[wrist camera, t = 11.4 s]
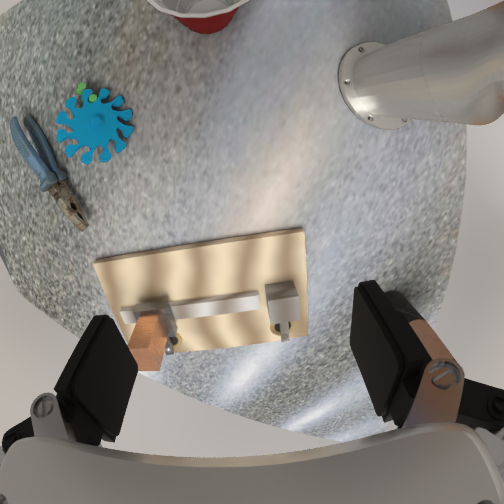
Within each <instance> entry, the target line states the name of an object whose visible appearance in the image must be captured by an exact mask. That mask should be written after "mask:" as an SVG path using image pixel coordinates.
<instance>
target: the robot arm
mask: <svg viewBox="0 0 504 504" xmlns="http://www.w3.org/2000/svg"><path fill="white" fill-rule="evenodd" d="M359 51H360V52H359ZM338 77H339V86H340V89H341V93H342V95H343V98H344V100H345V102H346V104H347V105H348V107H349V108H350V110H351V111H352V112H353V113H354V114H355V115H356V116H357V117H358V118H359V119H361V120H362V121H363V122H365V123H366V124H368V125H370V126H373V127H376V128H379V129H390V130H393V129H398V128H401V127H403V126H405V125H406V124H408V123H409V122H410V121H411V120H412V119H415V120H430V121H442V122H452V123H460V124H469V125H485V124H489V123H491V122H493V121H495V120H496V119H498V118H499V117H500V116H501V115H502V114H503V113H504V1H502V2H500V3H498V4H496V5H494V6H491V7H489V8H487V9H485V10H482V11H480V12H477V13H475V14H472V15H470V16H467V17H464V18H461V19H458V20H455V21H452V22H449V23H446V24H443V25H440V26H437V27H434V28H430V29H428V30H425V31H422V32H419V33H416V34H413V35H411V36H408V37H405V38H403V39H400V40H397V41H395V42H392V43H390V44H388V45H386V44H383V43H379V42H366V43H362V44H359V45H357V46H355V47H353V48H352V49H350V50H349V51H348V52H347V53H346V54H345V56H344V58H343V59H342V61H341V64H340V67H339V76H338ZM344 81H345V82H346V84H345V83H344ZM368 117H369V119H368ZM350 346H351V349H352V352H353V354H354V357H355V359H356V362H357V364H358V367H359V369H360V372H361V374H362V377H363V379H364V382H365V385H366V387H367V390H368V393H369V395H370V398H371V401H372V403H373V406H374V409H375V412H376V414H377V416H382V418H383V421H384V423H385V422H388V421H391V420H393V421H394V423H395V425H397V428H396V429H395V430H391V431H388V432H384V433H380V434H376V435H372V436H369V437H365V438H361V439H357V440H353V441H349V442H344V443H340V444H335V445H330V446H325V447H320V448H315V449H309V450H303V451H296V452H289V453H281V454H272V455H263V456H249V457H227V458H194V457H193V458H192V457H173V456H159V455H149V454H140V453H133V452H126V451H120V450H114V449H108V448H103V447H102V445H101V443H100V442H101V439H103V440H104V441H109V442H115V439H116V436H118V435H119V433H120V430H121V426H122V422H123V418H124V415H125V412H126V408H127V405H128V402H129V398H130V395H131V392H132V388H133V385H134V382H135V379H136V376H137V373H138V364H137V362H136V360H135V359H134V357H133V355H132V353H131V352H130V350H129V348H128V346H127V345H126V343H125V341H124V339H123V337H122V335H121V333H120V332H119V330H118V328H117V326H116V324H115V322H114V320H113V319H112V318H110V317H109V316H108V315H96V316H94V317H93V318H92V320H91V322H90V323H89V325H88V327H87V328H86V330H85V332H84V333H83V335H82V337H81V339H80V340H79V342H78V344H77V346H76V347H75V349H74V351H73V353H72V355H71V357H70V359H69V360H68V362H67V364H66V366H65V368H64V370H63V372H62V374H61V376H60V378H59V380H58V382H57V384H56V386H55V388H54V390H55V391H56V392H57V395H56V396H55V395H53V394H52V393H43V394H41V395H39V396H38V397H37V398H36V399H35V400H34V401H33V403H32V405H31V409H30V412H31V413H30V414H31V417H29V418H28V419H26V420H24V421H23V422H21V423H19V424H18V425H16V426H14V427H12V428H11V429H9V430H8V431H7V432H6V433H5V434H4V436H3V441H2V447H1V446H0V504H504V390H503V389H499V388H495V387H492V386H489V385H485V384H482V383H479V382H475V381H472V380H469V379H466V378H464V371H463V369H462V367H461V366H460V365H459V364H458V363H457V362H456V361H454V360H452V359H449V358H436V359H434V360H432V358H431V356H430V355H429V353H428V352H427V350H426V348H425V347H424V345H423V344H422V342H421V341H420V339H419V337H418V336H417V334H416V333H415V331H414V330H413V328H412V327H411V325H410V324H409V322H408V321H407V319H406V318H405V316H404V315H403V313H402V312H401V311H399V310H395V308H394V307H393V305H392V304H391V302H390V301H389V299H388V298H387V296H386V295H385V294H384V292H383V291H382V289H381V288H380V286H379V285H378V284H377V282H376V281H375V280H370V281H364V282H360V283H359V285H358V287H355V289H354V299H353V312H352V323H351V333H350Z"/></svg>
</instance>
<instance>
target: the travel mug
mask: <svg viewBox="0 0 504 504" xmlns="http://www.w3.org/2000/svg"><path fill="white" fill-rule="evenodd" d="M384 294H385V295H386V296H387V298H388V299H389V301H390V302H391V304H392V305H393V307H394V308H395V310H399V311H401V312H402V313H403V315H404V316H405V318H406V319H407V321H408V322H409V324H410V325H411V327H412V328H413V330H414V331H415V333H416V334H417V336H418V337H419V339H420V341H421V342H422V344H423V345H424V347H425V348H426V350H427V352H428V353H429V355H430V356H431V358H432V360H434V359H436V358H449V359H452V360H454V361H456V360H455V359H454V357H453V356H452V354H451V353H450V352H449V350H448V349H447V348H446V346H445V345H444V344H443V342H442V341H441V340H440V338H439V337H438V336H437V334H436V333H435V332H434V331H433V329H432V328H431V327H430V325H429V324H428V323H427V322H426V320H425V319H424V318H423V317H422V316H421V315H420V314H419V313H418V312H417V310H416V309H415V308H414V307H413V306H412V305H411V304H410V303H409V302H408V301H407V299H406V298H405V297H404V296H403V295H402V294H401V293H399V292H397V291H389V292H386V293H384ZM456 362H457V361H456Z"/></svg>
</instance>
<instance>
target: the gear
mask: <svg viewBox="0 0 504 504" xmlns="http://www.w3.org/2000/svg"><path fill="white" fill-rule="evenodd" d="M85 88H86V84H85V83H80V84H79V85H78V88H77V91H76V93H77V94H78V95H80V96H79V99H78V103H79V108H76V107H75V104H76V101H77V99H76V97H71V98H69V99H68V100H66V107H67V108H69V109H70V110H71V111H72V113H73V115H74V119H72V120H70V119H68V118H67V114H66V113H65V112H64V111H61V112H60V113H59V115H58V117H57V119H56V122H57V123H58V124H65V125H68V126H69V127H70V128H71V129H72V130H73V132H71V133H67V132H66V131H65V130H63V129H59V130H58V132H57V142H62V141H64V140H66V139H76V140H78V142H79V143H78V144H77V145H72V144H70V145H67V146H66V148H65V153H66V155H67V156H68V157H69V158H70V157H72V156H73V155H74V154H75V152H76V151H77V150H78V149H80V148H82V147H84V146H88V147H89V148H90V151H89V152H86V153H84V154H83V155H82V157H81V162H83V163H84V164H87V165H89V164H90V162H91V161H92V155H93V151H94V150H95V149H96V148H97V147H98V146H101V147H102V148H103V152H102V154H101V155H100V157H99V160H100V162H108V161H109V160H110V159H111V154H110V152H109V149H108V143H109V140H113V141H114V142H115V147H114V149H115V152H117V153H119V152H121V151H122V150H123V149H124V148H125V147H126V143H125V142H123V141H122V140H121V139H120V138H119V137H118V135H117V132H116V129H120V130H121V131H122V134H123V136H124V137H126V138H128V137H129V136H130V135H131V133H132V132H133V129H134V128H133V127H132V126H127V125H123V124H122V123H120V122H119V121H118V120H117V117H121V118H122V119H123V120H125V121H129V120H130V119H131V117H132V111H131V110H130V109H127V110H125V111H115V110H112V108H111V107H112V106H115V107H120V106H122V104H123V103H124V100H123V98H122V97H121V96H117V97H116V98H115V99H114V100H113V101H111V102H109V103H106V104H103V103H101V100H103V99H106V98H107V97H108V95H109V93H110V92H109V91H108V90H107V89H105V88H102V89H101V90H100V92H99V95H98V99H97V96H96V95H94V94H92V90H91V89H85Z"/></svg>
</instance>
